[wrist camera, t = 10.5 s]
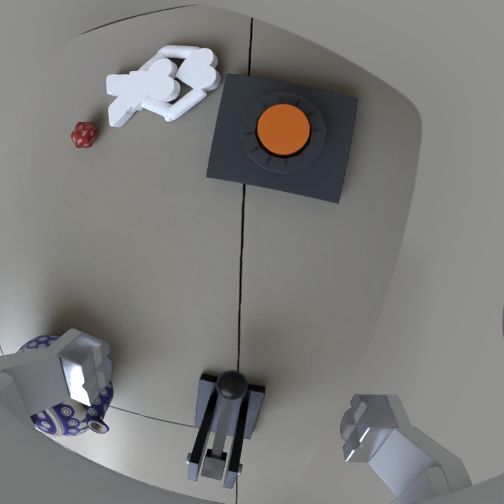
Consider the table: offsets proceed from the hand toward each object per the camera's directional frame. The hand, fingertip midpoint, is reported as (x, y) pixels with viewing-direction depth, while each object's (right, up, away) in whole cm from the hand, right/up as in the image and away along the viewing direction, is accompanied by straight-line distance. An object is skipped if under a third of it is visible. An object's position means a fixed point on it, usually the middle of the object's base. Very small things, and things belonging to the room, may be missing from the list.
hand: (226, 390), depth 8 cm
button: (+3, +14, +14) cm, 20 cm away
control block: (+4, +15, +17) cm, 23 cm away
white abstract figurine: (-8, +21, +17) cm, 29 cm away
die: (-17, +17, +19) cm, 31 cm away
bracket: (-2, -16, +26) cm, 31 cm away
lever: (-2, -14, +19) cm, 24 cm away
